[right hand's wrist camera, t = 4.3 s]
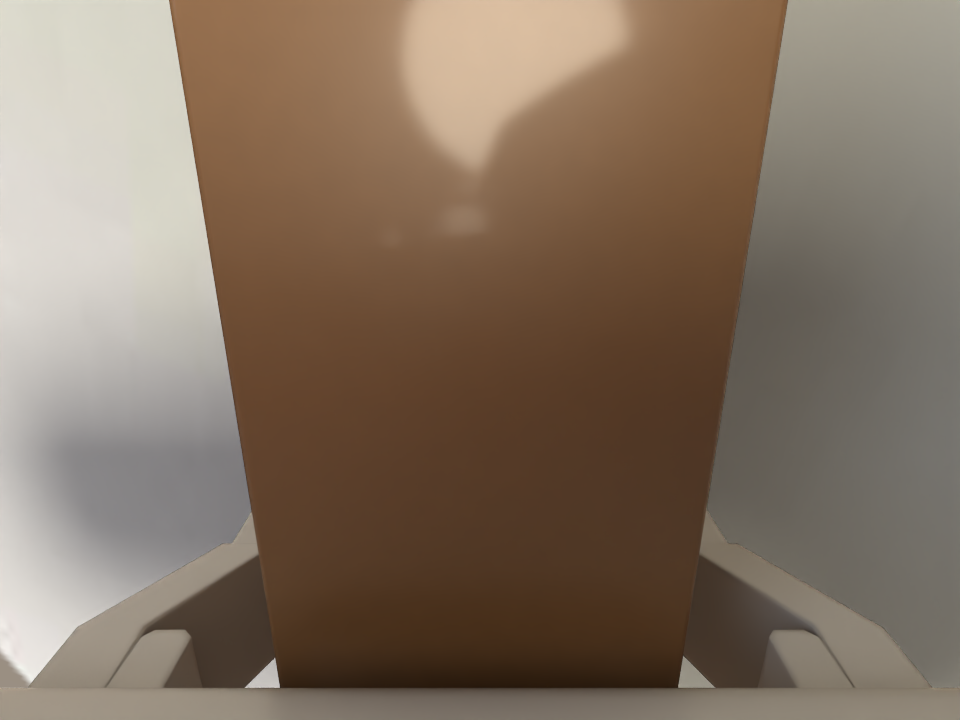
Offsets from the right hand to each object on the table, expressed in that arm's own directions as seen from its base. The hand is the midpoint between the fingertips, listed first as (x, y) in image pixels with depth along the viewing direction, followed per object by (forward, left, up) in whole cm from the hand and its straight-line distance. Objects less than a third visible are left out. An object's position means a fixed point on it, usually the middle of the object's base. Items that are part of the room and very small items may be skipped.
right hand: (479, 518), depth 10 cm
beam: (+11, -18, -3) cm, 21 cm away
